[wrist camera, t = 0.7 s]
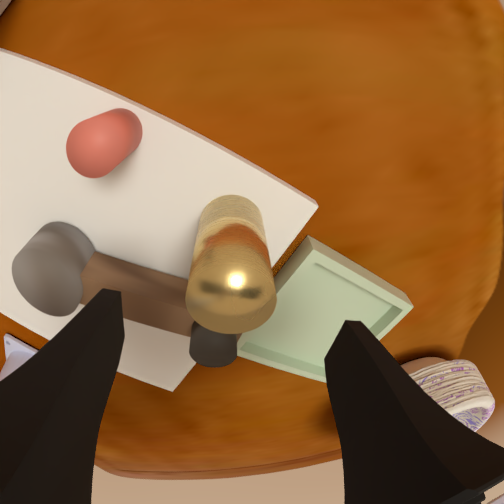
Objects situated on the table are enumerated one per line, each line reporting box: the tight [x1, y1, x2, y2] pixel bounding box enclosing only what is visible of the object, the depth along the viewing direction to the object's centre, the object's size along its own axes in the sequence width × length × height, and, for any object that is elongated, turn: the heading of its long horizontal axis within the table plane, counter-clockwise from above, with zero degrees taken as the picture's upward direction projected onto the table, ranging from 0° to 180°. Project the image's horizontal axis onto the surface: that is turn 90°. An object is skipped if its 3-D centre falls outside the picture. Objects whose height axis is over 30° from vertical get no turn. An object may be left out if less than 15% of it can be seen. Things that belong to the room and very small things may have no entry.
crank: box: [12, 222, 242, 367], centre depth 15 cm, size 13×4×4 cm, turn 68°
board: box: [0, 48, 319, 392], centre depth 17 cm, size 19×22×1 cm
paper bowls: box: [400, 357, 495, 432], centre depth 24 cm, size 15×15×8 cm
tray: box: [237, 235, 413, 383], centre depth 20 cm, size 9×9×2 cm
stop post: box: [66, 108, 143, 178], centre depth 12 cm, size 2×2×3 cm
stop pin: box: [185, 195, 277, 334], centre depth 13 cm, size 3×3×6 cm
